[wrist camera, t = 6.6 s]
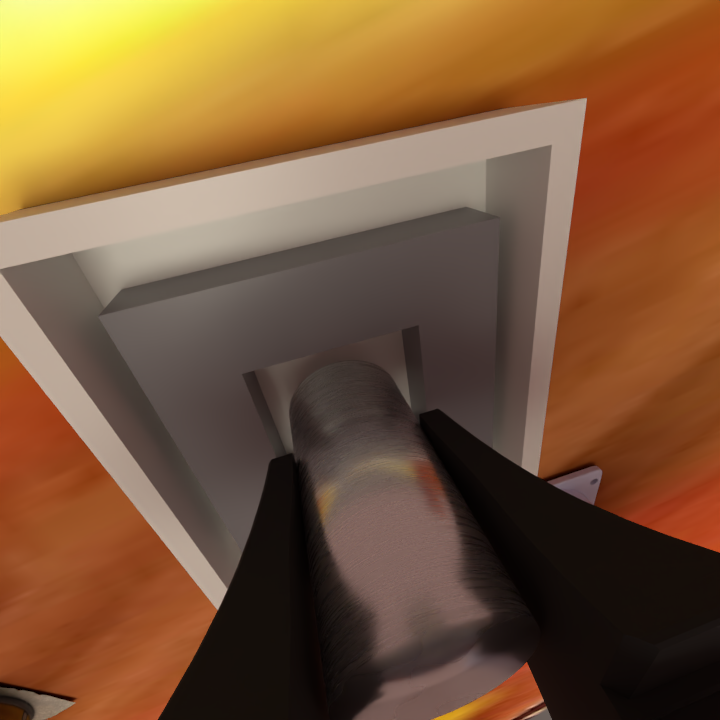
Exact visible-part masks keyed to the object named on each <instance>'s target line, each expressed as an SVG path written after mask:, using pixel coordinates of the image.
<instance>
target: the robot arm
mask: <svg viewBox="0 0 720 720" xmlns="http://www.w3.org/2000/svg"><path fill="white" fill-rule="evenodd" d="M419 419H420V425H421V427H422V429H423V430H424V432H425V434H426V435H427V437H428V439H429V441H430V442H431V444H432V446H433V447H434V449H435V451H436V452H437V454H438V456H439V458H440V459H441V461H442V463H443V464H444V466H445V468H446V469H447V471H448V473H449V475H450V476H451V478H452V480H453V481H454V483H455V485H456V486H457V488H458V490H459V491H460V493H461V495H462V497H463V498H464V500H465V502H466V503H467V505H468V507H469V508H470V510H471V512H472V514H473V515H474V517H475V519H476V520H477V522H478V524H479V525H480V527H481V529H482V531H483V532H484V534H485V536H486V537H487V539H488V541H489V542H490V544H491V546H492V547H493V549H494V551H495V553H496V554H497V556H498V558H499V559H500V561H501V563H502V564H503V566H504V568H505V570H506V571H507V573H508V575H509V576H510V578H511V580H512V581H513V583H514V585H515V587H516V588H517V590H518V592H519V593H520V595H521V597H522V598H523V600H524V602H525V603H526V605H527V607H528V609H529V610H530V612H531V614H532V615H533V617H534V619H535V620H536V622H537V624H538V626H539V628H540V632H541V636H540V641H539V644H538V646H537V648H536V650H535V651H534V653H533V654H532V656H531V657H530V658H529V659H528V661H527V663H528V665H529V668H530V670H531V672H532V674H533V676H534V679H535V681H536V683H537V685H538V688H539V690H540V692H541V695H542V697H543V699H544V702H545V704H546V706H547V709H548V711H549V713H550V716H551V718H552V720H720V553H719V552H716V551H713V550H710V549H707V548H704V547H701V546H698V545H695V544H692V543H689V542H686V541H683V540H680V539H677V538H674V537H671V536H668V535H665V534H663V533H660V532H657V531H655V530H652V529H649V528H647V527H644V526H642V525H639V524H636V523H634V522H631V521H629V520H626V519H624V518H622V517H619V516H617V515H615V514H613V513H610V512H608V511H606V510H603V509H601V508H599V507H597V506H594V502H595V499H596V495H597V491H598V488H599V484H600V480H601V477H602V470H601V469H600V468H599V467H598V466H591V467H588V468H585V469H582V470H579V471H576V472H574V473H571V474H568V475H565V476H562V477H559V478H556V479H553V480H550V481H547V482H546V481H544V480H542V479H541V478H539V477H537V476H535V475H534V474H532V473H530V472H528V471H527V470H525V469H523V468H522V467H520V466H519V465H517V464H515V463H514V462H512V461H511V460H509V459H507V458H506V457H504V456H503V455H501V454H500V453H498V452H497V451H495V450H494V449H492V448H491V447H490V446H488V445H487V444H485V443H484V442H482V441H481V440H479V439H478V438H477V437H475V436H474V435H473V434H471V433H470V432H468V431H467V430H466V429H464V428H463V427H462V426H461V425H459V424H458V423H457V422H455V421H454V420H453V419H451V418H450V417H449V416H448V415H446V414H445V413H444V412H443V411H441V410H440V409H434V410H431V411H428V412H425V413H421V414H419ZM158 720H330V717H329V714H328V707H327V699H326V692H325V684H324V676H323V669H322V661H321V654H320V646H319V639H318V631H317V624H316V616H315V608H314V601H313V593H312V586H311V578H310V571H309V563H308V556H307V548H306V540H305V533H304V525H303V518H302V508H301V499H300V490H299V482H298V475H297V468H296V462H295V459H294V457H293V454H292V453H290V454H287V455H284V456H281V457H277V458H274V459H271V461H270V462H269V465H268V470H267V475H266V480H265V484H264V488H263V492H262V495H261V499H260V502H259V506H258V509H257V512H256V515H255V518H254V522H253V525H252V528H251V531H250V534H249V537H248V539H247V542H246V545H245V547H244V550H243V553H242V555H241V558H240V561H239V563H238V566H237V568H236V571H235V573H234V576H233V578H232V580H231V583H230V585H229V587H228V589H227V592H226V594H225V596H224V598H223V600H222V603H221V605H220V607H219V609H218V611H217V613H216V615H215V617H214V619H213V621H212V623H211V625H210V627H209V629H208V631H207V633H206V635H205V637H204V639H203V641H202V643H201V645H200V647H199V649H198V651H197V652H196V654H195V656H194V658H193V660H192V662H191V663H190V665H189V667H188V669H187V670H186V672H185V674H184V676H183V677H182V679H181V681H180V683H179V684H178V686H177V688H176V689H175V691H174V693H173V695H172V696H171V698H170V700H169V702H168V703H167V705H166V707H165V709H164V710H163V712H162V714H161V715H160V717H159V719H158Z"/></svg>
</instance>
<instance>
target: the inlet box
mask: <svg viewBox="0 0 720 720" xmlns="http://www.w3.org/2000/svg"><path fill="white" fill-rule="evenodd" d="M586 102H587V98H583V99H575V100H567V101H559V102H551V103H543V104H535V105H527V106H519V107H511V108H503V109H498V110H493V111H488V112H483V113H479V114H474V115H469V116H464V117H460V118H455V119H450V120H445V121H440V122H436V123H431V124H426V125H421V126H417V127H412V128H407V129H402V130H398V131H393V132H388V133H383V134H378V135H374V136H369V137H364V138H359V139H355V140H350V141H345V142H340V143H336V144H331V145H326V146H321V147H316V148H312V149H307V150H302V151H297V152H293V153H288V154H283V155H278V156H273V157H269V158H264V159H259V160H254V161H250V162H245V163H240V164H235V165H231V166H226V167H221V168H216V169H211V170H207V171H202V172H197V173H192V174H188V175H183V176H178V177H173V178H168V179H164V180H159V181H154V182H149V183H145V184H140V185H135V186H130V187H126V188H121V189H116V190H111V191H106V192H102V193H97V194H92V195H87V196H83V197H78V198H73V199H68V200H63V201H59V202H54V203H49V204H44V205H40V206H35V207H30V208H25V209H21V210H17V211H14V212H10V213H7V214H4V215H1V216H0V336H1V338H2V339H3V340H4V342H5V343H6V344H7V345H8V347H9V348H10V349H11V350H12V352H13V353H14V354H15V355H16V357H17V358H18V359H19V360H20V362H21V363H22V364H23V365H24V367H25V368H26V369H27V371H28V372H29V373H30V374H31V376H32V377H33V378H34V379H35V381H36V382H37V383H38V384H39V386H40V387H41V388H42V389H43V391H44V392H45V393H46V394H47V396H48V397H49V398H50V399H51V401H52V402H53V403H54V405H55V406H56V407H57V408H58V410H59V411H60V412H61V413H62V415H63V416H64V417H65V418H66V420H67V421H68V422H69V423H70V425H71V426H72V427H73V428H74V430H75V431H76V432H77V434H78V435H79V436H80V437H81V439H82V440H83V441H84V442H85V444H86V445H87V446H88V447H89V449H90V450H91V451H92V452H93V454H94V455H95V456H96V457H97V459H98V460H99V461H100V463H101V464H102V465H103V466H104V468H105V469H106V470H107V471H108V473H109V474H110V475H111V476H112V478H113V479H114V480H115V481H116V483H117V484H118V485H119V486H120V488H121V489H122V490H123V492H124V493H125V494H126V495H127V497H128V498H129V499H130V500H131V502H132V503H133V504H134V505H135V507H136V508H137V509H138V510H139V512H140V513H141V514H142V515H143V517H144V518H145V519H146V520H147V522H148V523H149V524H150V526H151V527H152V528H153V529H154V531H155V532H156V533H157V534H158V536H159V537H160V538H161V539H162V541H163V542H164V543H165V544H166V546H167V547H168V548H169V549H170V551H171V552H172V553H173V555H174V556H175V557H176V558H177V560H178V561H179V562H180V563H181V565H182V566H183V567H184V568H185V570H186V571H187V572H188V573H189V575H190V576H191V577H192V578H193V580H194V581H195V582H196V584H197V585H198V586H199V587H200V589H201V590H202V591H203V592H204V594H205V595H206V596H207V597H208V599H209V600H210V601H211V602H212V604H213V605H214V606H215V607H216V609H217V610H218V609H219V607H220V605H221V603H222V600H223V598H224V596H225V594H226V592H227V589H228V587H229V585H230V583H231V580H232V578H233V576H234V573H235V571H236V568H237V566H238V563H239V561H240V558H241V555H242V553H243V550H244V547H245V545H246V542H247V539H248V537H249V534H250V531H251V528H252V525H253V522H254V518H255V515H256V512H257V509H258V506H259V502H260V499H261V495H262V492H263V488H264V484H265V480H266V475H267V470H268V465H269V462H270V461H271V459H274V458H277V457H281V456H284V455H287V454H290V453H292V454H293V457H294V450H293V442H292V435H291V427H290V420H289V407H290V402H291V399H292V397H293V395H294V392H295V391H296V389H297V388H298V386H299V385H300V384H301V383H302V381H303V380H305V379H306V378H307V377H308V376H309V375H310V374H312V373H313V372H314V371H316V370H318V369H320V368H321V367H324V366H326V365H328V364H331V363H335V362H339V361H344V360H361V361H367V362H370V363H373V364H375V365H378V366H380V367H381V368H383V369H384V370H385V371H387V372H388V373H389V374H390V375H391V377H392V378H393V379H394V381H395V383H396V385H397V386H398V388H399V390H400V391H401V393H402V395H403V396H404V398H405V400H406V402H407V403H408V405H409V407H410V408H411V410H412V412H413V413H414V415H415V417H416V418H417V420H418V422H419V424H420V419H419V414H421V413H425V412H428V411H431V410H434V409H440V410H441V411H443V412H444V413H445V414H446V415H448V416H449V417H450V418H451V419H453V420H454V421H455V422H457V423H458V424H459V425H461V426H462V427H463V428H464V429H466V430H467V431H468V432H470V433H471V434H473V435H474V436H475V437H477V438H478V439H479V440H481V441H482V442H484V443H485V444H487V445H488V446H490V447H491V448H492V449H494V450H495V451H497V452H498V453H500V454H501V455H503V456H504V457H506V458H507V459H509V460H511V461H512V462H514V463H515V464H517V465H519V466H520V467H522V468H523V469H525V470H527V471H528V472H530V473H532V474H534V475H535V476H538V468H539V461H540V453H541V445H542V438H543V430H544V422H545V415H546V407H547V399H548V392H549V384H550V377H551V369H552V361H553V354H554V346H555V338H556V331H557V323H558V315H559V308H560V300H561V293H562V285H563V277H564V270H565V262H566V254H567V247H568V239H569V231H570V224H571V216H572V208H573V201H574V193H575V186H576V178H577V170H578V163H579V155H580V147H581V140H582V132H583V124H584V117H585V109H586ZM294 459H295V457H294Z"/></svg>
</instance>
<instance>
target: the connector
mask: <svg viewBox="0 0 720 720" xmlns="http://www.w3.org/2000/svg"><path fill="white" fill-rule="evenodd" d="M289 420H290V427H291V435H292V442H293V450H294V457H295V462H296V468H297V475H298V482H299V490H300V499H301V508H302V518H303V525H304V533H305V540H306V548H307V556H308V563H309V571H310V578H311V586H312V593H313V601H314V608H315V616H316V624H317V631H318V639H319V646H320V654H321V661H322V669H323V676H324V684H325V692H326V699H327V707H328V714H329V717H330V720H431V719H434V718H436V717H439V716H442V715H444V714H446V713H449V712H451V711H454V710H456V709H458V708H460V707H462V706H464V705H466V704H468V703H470V702H472V701H474V700H476V699H478V698H479V697H481V696H483V695H485V694H486V693H488V692H489V691H491V690H493V689H494V688H496V687H497V686H499V685H500V684H501V683H503V682H504V681H506V680H507V679H508V678H509V677H511V676H512V675H513V674H514V673H515V672H517V671H518V670H519V669H520V668H521V667H522V666H523V665H524V664H525V663H526V662H527V661H528V659H529V658H530V657H531V656H532V654H533V653H534V651H535V650H536V648H537V646H538V644H539V641H540V636H541V632H540V628H539V626H538V624H537V622H536V620H535V619H534V617H533V615H532V614H531V612H530V610H529V609H528V607H527V605H526V603H525V602H524V600H523V598H522V597H521V595H520V593H519V592H518V590H517V588H516V587H515V585H514V583H513V581H512V580H511V578H510V576H509V575H508V573H507V571H506V570H505V568H504V566H503V564H502V563H501V561H500V559H499V558H498V556H497V554H496V553H495V551H494V549H493V547H492V546H491V544H490V542H489V541H488V539H487V537H486V536H485V534H484V532H483V531H482V529H481V527H480V525H479V524H478V522H477V520H476V519H475V517H474V515H473V514H472V512H471V510H470V508H469V507H468V505H467V503H466V502H465V500H464V498H463V497H462V495H461V493H460V491H459V490H458V488H457V486H456V485H455V483H454V481H453V480H452V478H451V476H450V475H449V473H448V471H447V469H446V468H445V466H444V464H443V463H442V461H441V459H440V458H439V456H438V454H437V452H436V451H435V449H434V447H433V446H432V444H431V442H430V441H429V439H428V437H427V435H426V434H425V432H424V430H423V429H422V427H421V425H420V424H419V422H418V420H417V418H416V417H415V415H414V413H413V412H412V410H411V408H410V407H409V405H408V403H407V402H406V400H405V398H404V396H403V395H402V393H401V391H400V390H399V388H398V386H397V385H396V383H395V381H394V379H393V378H392V377H391V375H390V374H389V373H388V372H387V371H385V370H384V369H383V368H381V367H380V366H378V365H375V364H373V363H370V362H367V361H361V360H344V361H339V362H335V363H331V364H328V365H326V366H324V367H321V368H320V369H318V370H316V371H314V372H313V373H312V374H310V375H309V376H308V377H307V378H306V379H305V380H303V381H302V383H301V384H300V385H299V386H298V388H297V389H296V391H295V392H294V395H293V397H292V399H291V402H290V407H289Z"/></svg>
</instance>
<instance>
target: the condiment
mask: <svg viewBox="0 0 720 720" xmlns="http://www.w3.org/2000/svg"><path fill="white" fill-rule="evenodd" d="M75 703H76V702H70V701H66V700H63V699H58V698H55V697H52V696H48V695H38V694H36V693H34V692H30V691H25V690H20V691H18V690H16V689H14V688H1V687H0V720H46V719H47V718H50V717H52V716H55V715H57V714H58V713H60V712H62V711H63V710H65V709H67V708H69V707H70V706H72V705H73V704H75Z"/></svg>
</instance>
